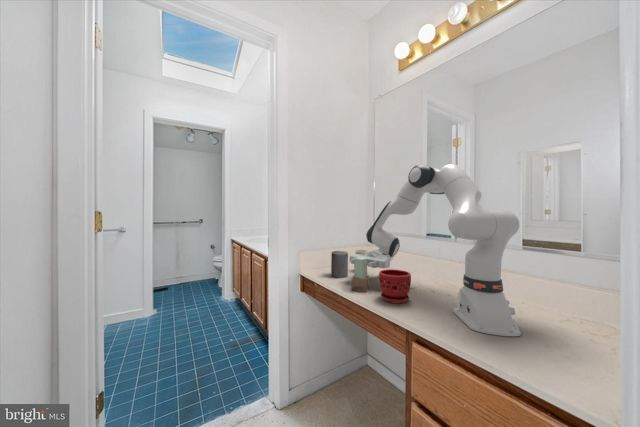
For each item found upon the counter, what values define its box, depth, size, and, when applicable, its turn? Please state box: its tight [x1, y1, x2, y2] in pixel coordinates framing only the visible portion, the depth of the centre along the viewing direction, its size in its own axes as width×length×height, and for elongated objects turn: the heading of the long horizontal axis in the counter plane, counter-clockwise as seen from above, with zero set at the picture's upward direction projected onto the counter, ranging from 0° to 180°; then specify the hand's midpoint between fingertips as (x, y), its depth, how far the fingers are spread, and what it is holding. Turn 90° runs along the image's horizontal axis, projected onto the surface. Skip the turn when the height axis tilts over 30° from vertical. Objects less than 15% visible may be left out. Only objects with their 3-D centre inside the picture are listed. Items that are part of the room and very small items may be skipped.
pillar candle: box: [330, 249, 349, 279], centre depth 145 cm, size 10×10×15 cm
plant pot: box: [378, 269, 412, 304], centre depth 108 cm, size 13×13×12 cm
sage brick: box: [353, 257, 368, 279], centre depth 122 cm, size 4×4×9 cm
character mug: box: [354, 249, 369, 255], centre depth 155 cm, size 11×7×13 cm, turn 35°
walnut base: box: [351, 274, 370, 293], centre depth 122 cm, size 7×7×6 cm
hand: (360, 263), depth 122 cm, fingers open, 8 cm apart
